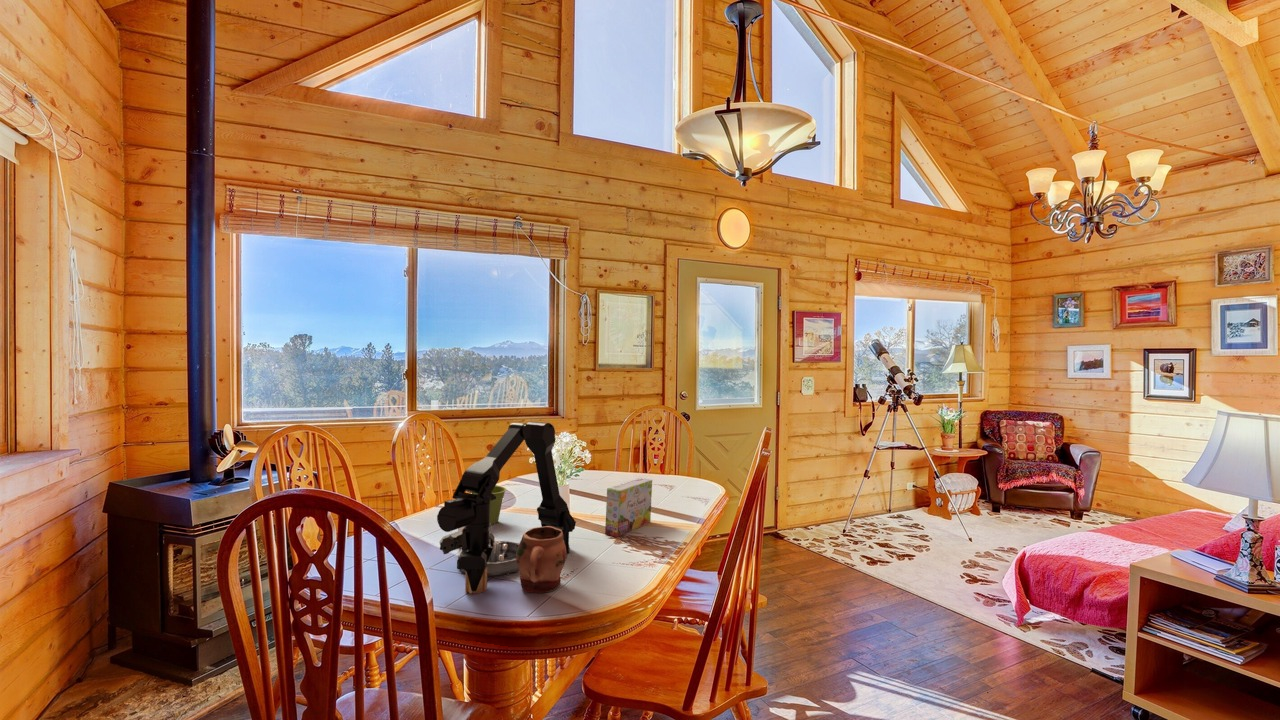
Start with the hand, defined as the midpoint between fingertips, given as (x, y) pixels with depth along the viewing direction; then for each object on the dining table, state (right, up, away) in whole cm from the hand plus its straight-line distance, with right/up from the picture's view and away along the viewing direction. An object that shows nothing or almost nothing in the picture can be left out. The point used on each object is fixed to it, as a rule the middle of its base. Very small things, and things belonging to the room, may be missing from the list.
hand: (476, 585), depth 143 cm
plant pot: (-12, 0, +56) cm, 57 cm away
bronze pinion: (0, -1, 0) cm, 1 cm away
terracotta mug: (+15, -2, +1) cm, 16 cm away
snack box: (+36, -2, +54) cm, 64 cm away
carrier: (0, -1, +17) cm, 17 cm away
